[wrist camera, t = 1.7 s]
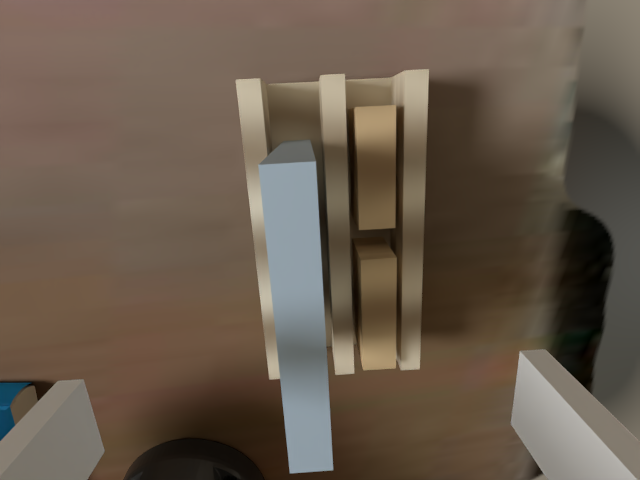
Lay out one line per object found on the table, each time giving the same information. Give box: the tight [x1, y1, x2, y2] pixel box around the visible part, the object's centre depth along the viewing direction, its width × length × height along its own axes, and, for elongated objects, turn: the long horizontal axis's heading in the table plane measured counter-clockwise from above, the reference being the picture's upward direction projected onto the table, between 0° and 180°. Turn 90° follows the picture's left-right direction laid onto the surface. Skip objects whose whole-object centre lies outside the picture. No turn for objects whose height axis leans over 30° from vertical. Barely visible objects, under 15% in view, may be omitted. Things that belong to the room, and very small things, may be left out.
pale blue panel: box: [258, 140, 333, 473], centre depth 23 cm, size 14×2×16 cm, turn 3°
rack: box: [236, 69, 429, 380], centre depth 29 cm, size 22×12×6 cm, turn 3°
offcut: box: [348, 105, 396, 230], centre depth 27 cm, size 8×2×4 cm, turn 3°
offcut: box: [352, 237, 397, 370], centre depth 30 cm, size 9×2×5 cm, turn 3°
